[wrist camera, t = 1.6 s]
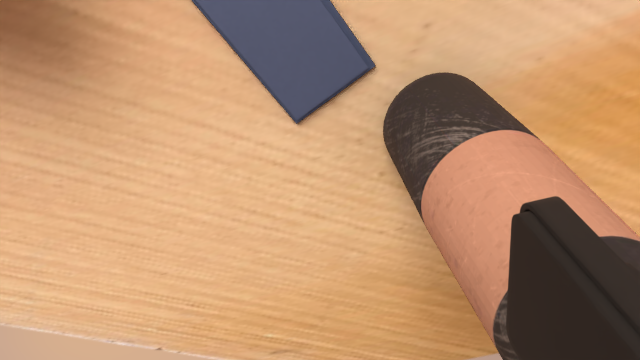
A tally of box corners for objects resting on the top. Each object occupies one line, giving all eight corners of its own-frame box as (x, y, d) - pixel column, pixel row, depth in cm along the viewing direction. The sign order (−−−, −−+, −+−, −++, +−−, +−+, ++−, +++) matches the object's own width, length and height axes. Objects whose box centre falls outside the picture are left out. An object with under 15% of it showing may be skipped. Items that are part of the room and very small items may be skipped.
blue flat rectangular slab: (225, -148, 30) (226, -147, 29) (374, 64, 37) (376, 67, 37) (133, -70, 31) (133, -67, 30) (296, 121, 38) (297, 125, 38)
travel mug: (390, 187, 42) (524, 440, 25) (366, 89, 38) (508, 317, 21) (495, 152, 42) (698, 382, 25) (483, 51, 38) (716, 247, 21)
